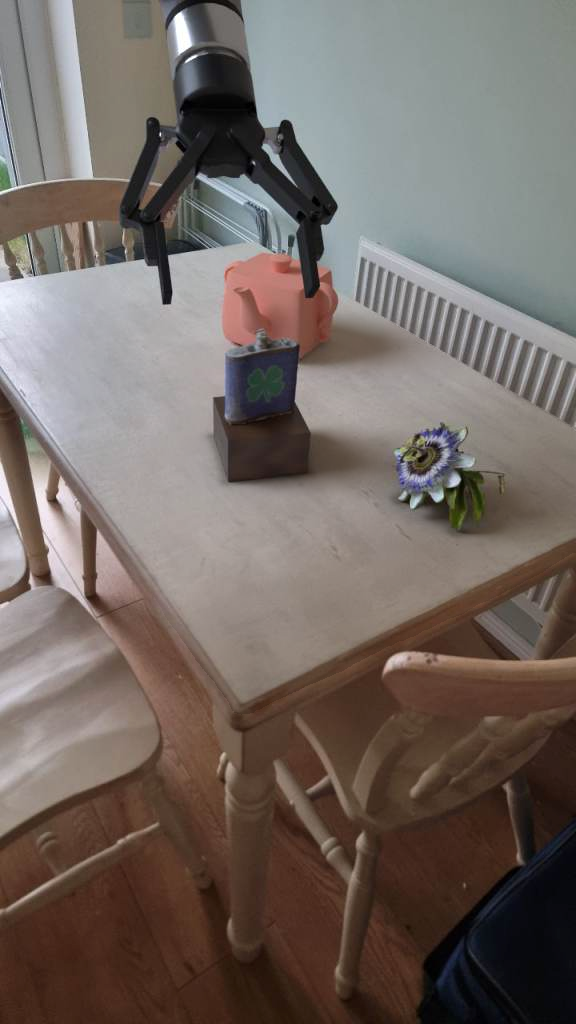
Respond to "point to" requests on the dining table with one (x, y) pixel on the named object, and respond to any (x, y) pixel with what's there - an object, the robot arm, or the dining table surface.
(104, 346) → the dining table surface
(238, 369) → the flask
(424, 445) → the passion flower
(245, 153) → the robot arm
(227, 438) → the walnut block
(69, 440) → the dining table surface
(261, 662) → the dining table surface
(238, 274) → the teapot
